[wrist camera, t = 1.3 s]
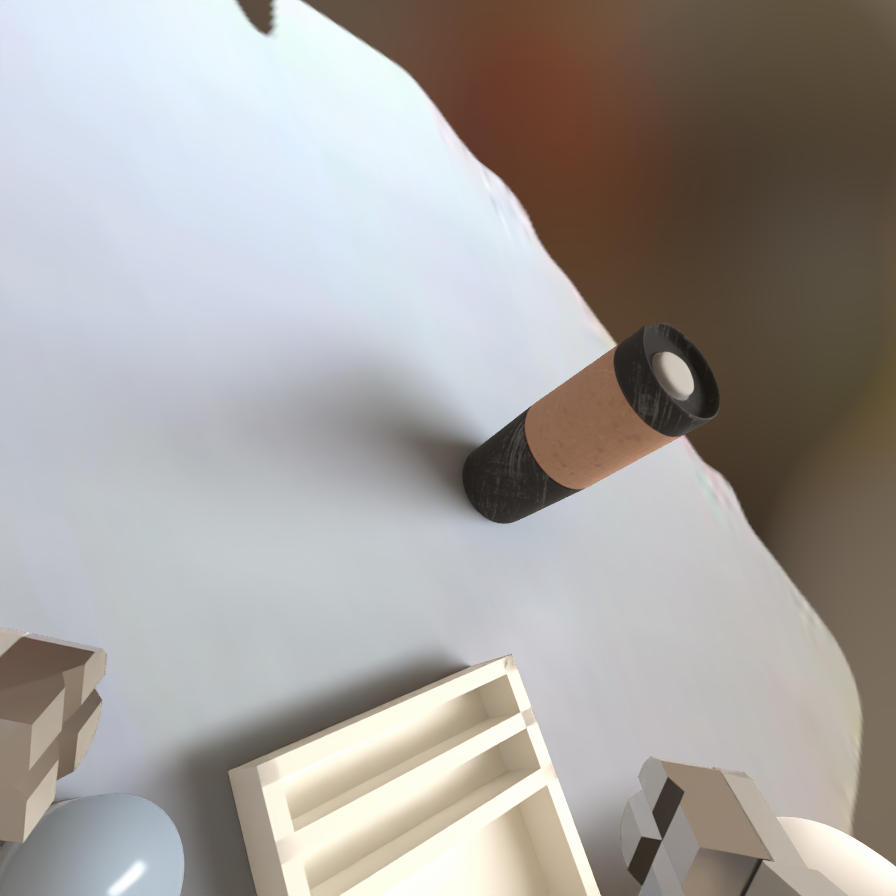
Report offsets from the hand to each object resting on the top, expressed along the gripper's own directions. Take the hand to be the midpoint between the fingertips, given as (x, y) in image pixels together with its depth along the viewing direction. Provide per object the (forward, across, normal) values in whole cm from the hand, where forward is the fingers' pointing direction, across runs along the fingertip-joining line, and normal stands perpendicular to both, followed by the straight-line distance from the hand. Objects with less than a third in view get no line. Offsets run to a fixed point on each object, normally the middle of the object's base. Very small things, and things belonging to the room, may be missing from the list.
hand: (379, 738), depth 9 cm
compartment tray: (+22, -6, +26) cm, 35 cm away
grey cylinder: (+15, +11, +23) cm, 30 cm away
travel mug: (+44, -9, +10) cm, 46 cm away
